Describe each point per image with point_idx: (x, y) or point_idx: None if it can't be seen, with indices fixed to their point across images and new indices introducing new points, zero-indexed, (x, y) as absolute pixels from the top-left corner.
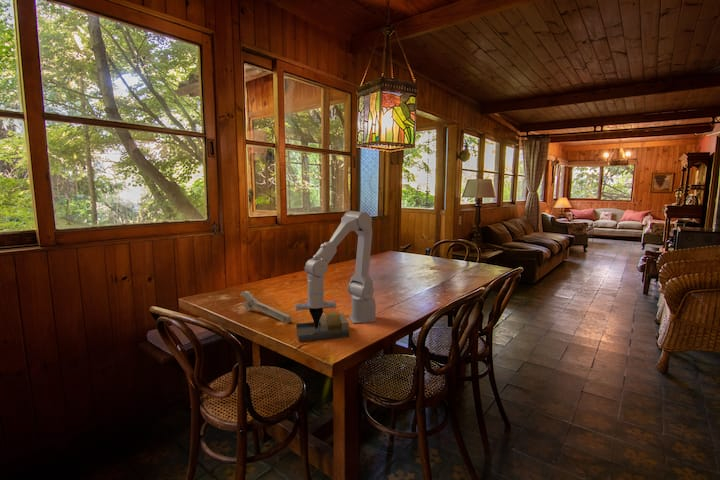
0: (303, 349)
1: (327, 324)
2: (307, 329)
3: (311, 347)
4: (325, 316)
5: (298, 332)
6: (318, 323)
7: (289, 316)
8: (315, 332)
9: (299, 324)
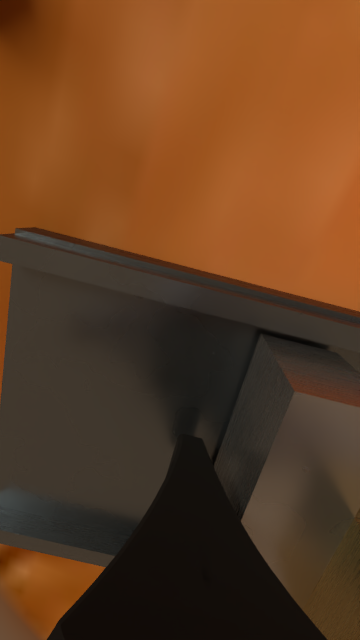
0: (19, 593)
1: None
2: (110, 391)
3: (74, 592)
4: (357, 561)
5: (8, 417)
6: (244, 416)
7: None
8: (159, 482)
9: (40, 267)
